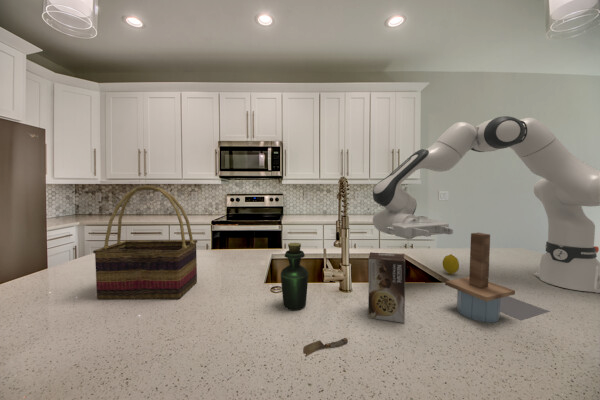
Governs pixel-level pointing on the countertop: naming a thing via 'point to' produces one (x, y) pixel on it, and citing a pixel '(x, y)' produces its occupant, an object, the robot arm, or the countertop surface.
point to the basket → (146, 262)
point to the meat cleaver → (322, 346)
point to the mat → (519, 308)
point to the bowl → (478, 308)
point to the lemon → (450, 264)
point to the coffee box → (386, 287)
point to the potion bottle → (294, 279)
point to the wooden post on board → (480, 273)
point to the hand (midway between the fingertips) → (440, 232)
